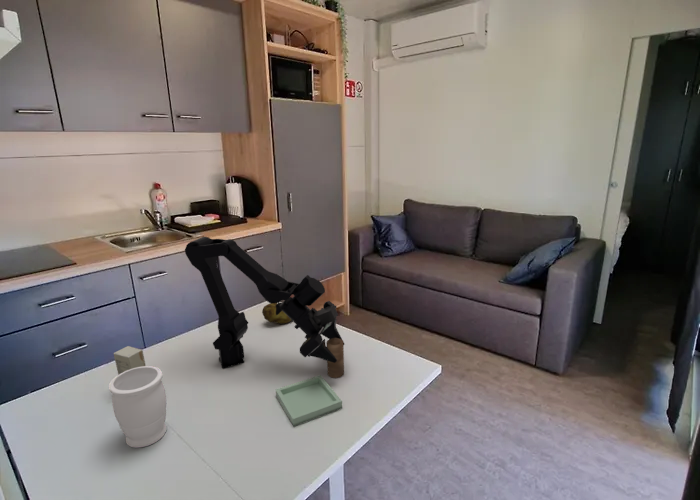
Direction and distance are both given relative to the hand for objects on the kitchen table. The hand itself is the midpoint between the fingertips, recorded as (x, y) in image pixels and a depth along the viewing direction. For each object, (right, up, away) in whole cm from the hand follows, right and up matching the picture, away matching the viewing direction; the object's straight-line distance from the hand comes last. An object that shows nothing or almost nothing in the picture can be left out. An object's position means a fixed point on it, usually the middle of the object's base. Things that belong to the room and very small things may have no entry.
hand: (339, 353), depth 109 cm
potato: (-23, +2, +35) cm, 42 cm away
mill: (-1, -6, +2) cm, 7 cm away
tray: (-8, -10, -10) cm, 16 cm away
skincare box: (-56, -9, -4) cm, 56 cm away
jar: (-44, -14, -20) cm, 51 cm away
